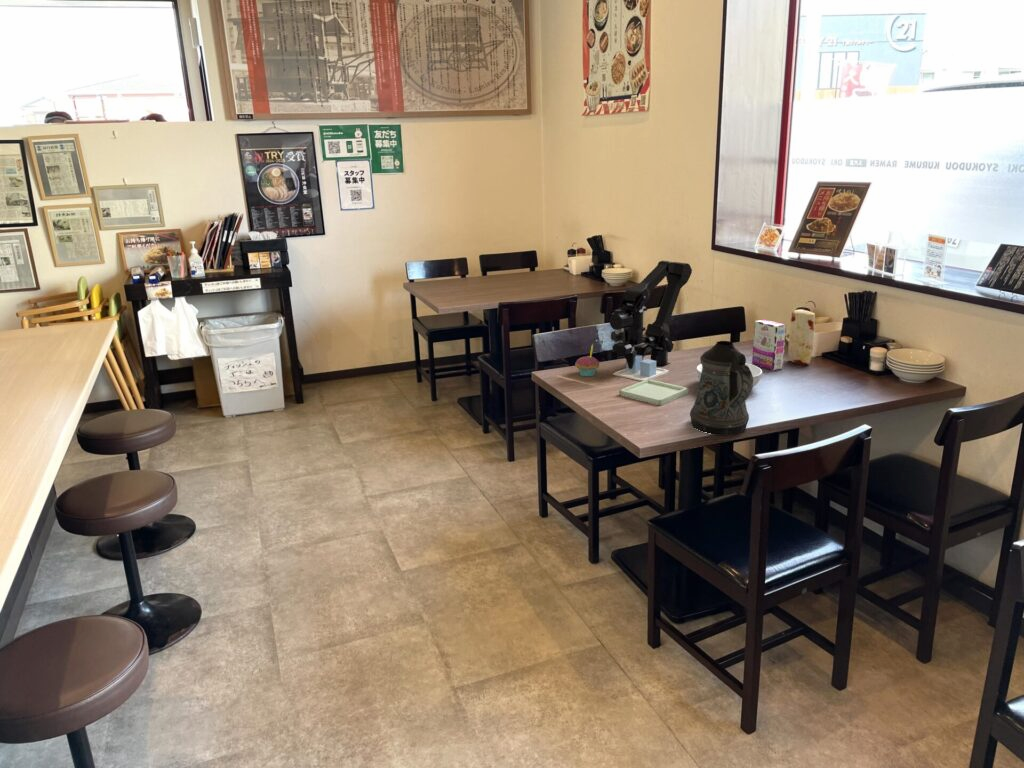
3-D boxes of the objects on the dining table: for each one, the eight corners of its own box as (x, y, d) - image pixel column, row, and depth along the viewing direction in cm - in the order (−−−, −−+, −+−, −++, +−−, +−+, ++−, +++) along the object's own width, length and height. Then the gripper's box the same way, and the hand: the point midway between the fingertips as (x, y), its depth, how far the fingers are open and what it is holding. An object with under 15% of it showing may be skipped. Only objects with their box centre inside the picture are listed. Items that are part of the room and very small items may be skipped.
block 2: (646, 372, 267) (647, 359, 266) (656, 374, 265) (656, 361, 263) (640, 375, 265) (640, 361, 263) (649, 377, 262) (649, 363, 260)
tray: (647, 383, 257) (648, 378, 256) (688, 393, 246) (688, 388, 245) (619, 395, 246) (619, 390, 246) (659, 405, 235) (660, 400, 235)
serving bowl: (764, 399, 238) (765, 379, 236) (696, 397, 242) (697, 377, 240) (757, 379, 257) (758, 360, 255) (694, 378, 261) (695, 359, 259)
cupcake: (599, 372, 271) (599, 340, 268) (599, 379, 263) (599, 346, 260) (575, 372, 272) (575, 340, 269) (575, 379, 264) (574, 346, 261)
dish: (638, 366, 276) (638, 363, 276) (668, 373, 267) (668, 370, 267) (613, 376, 266) (613, 373, 266) (643, 383, 257) (643, 380, 257)
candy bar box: (783, 369, 268) (787, 324, 263) (773, 371, 266) (776, 326, 261) (761, 362, 277) (764, 318, 272) (751, 364, 275) (754, 320, 270)
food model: (782, 362, 276) (787, 308, 270) (794, 358, 280) (799, 306, 274) (805, 367, 268) (810, 313, 262) (817, 364, 272) (822, 310, 266)
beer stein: (705, 411, 229) (709, 332, 221) (767, 424, 217) (773, 341, 209) (679, 427, 217) (682, 344, 209) (743, 442, 205) (749, 354, 197)
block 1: (632, 367, 271) (633, 353, 270) (642, 369, 268) (642, 355, 267) (626, 369, 268) (626, 356, 267) (635, 371, 266) (635, 357, 264)
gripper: (632, 317, 275) (631, 357, 280) (600, 326, 263) (600, 369, 268) (657, 321, 268) (656, 363, 272) (625, 331, 255) (625, 374, 260)
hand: (634, 367), depth 268 cm, fingers closed on block 1, 4 cm apart
